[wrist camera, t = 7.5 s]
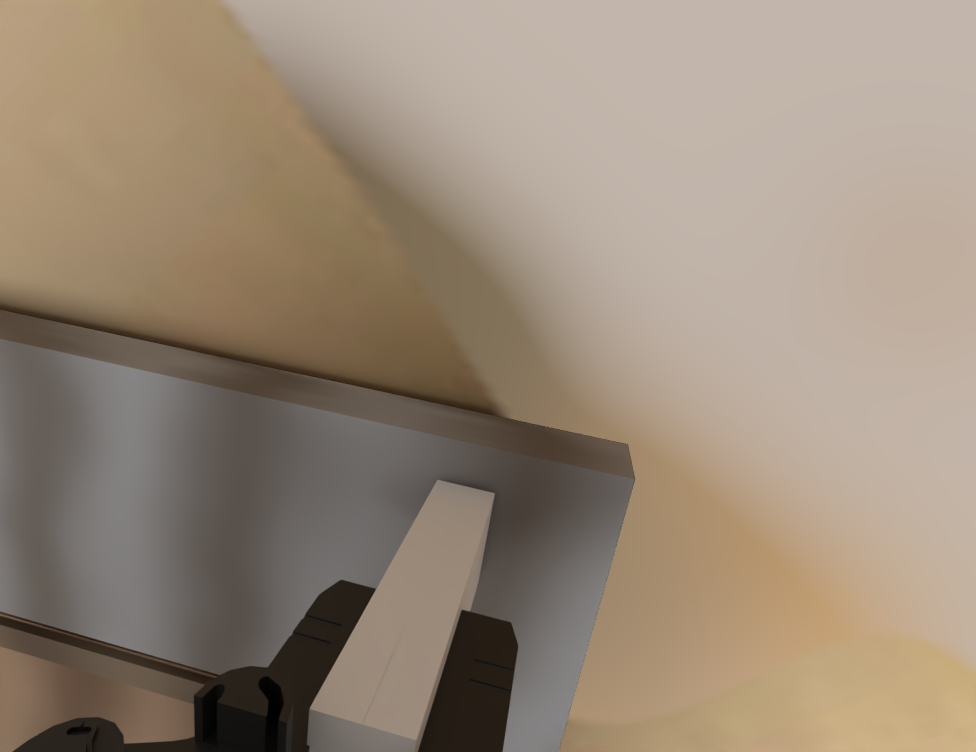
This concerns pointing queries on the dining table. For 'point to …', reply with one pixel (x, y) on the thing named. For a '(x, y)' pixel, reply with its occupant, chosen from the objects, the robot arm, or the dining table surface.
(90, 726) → the robot arm
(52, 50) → the dining table surface
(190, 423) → the grey plank
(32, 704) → the walnut floor board
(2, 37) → the dining table surface
